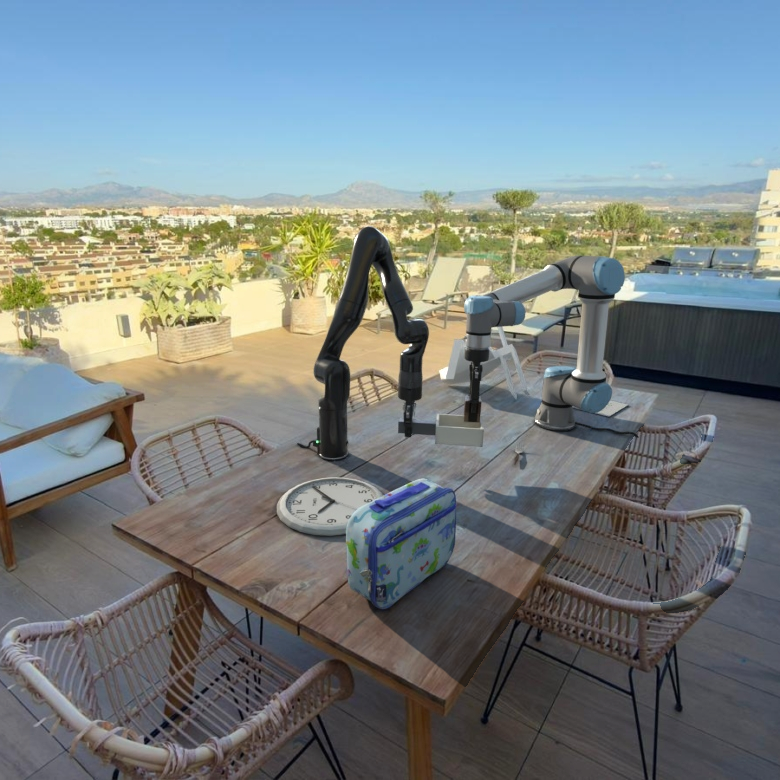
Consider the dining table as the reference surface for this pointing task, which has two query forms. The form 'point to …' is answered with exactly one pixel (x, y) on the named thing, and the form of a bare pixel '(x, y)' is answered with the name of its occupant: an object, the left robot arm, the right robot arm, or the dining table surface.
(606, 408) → the invitation card
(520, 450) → the fork
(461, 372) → the white plastic object
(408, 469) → the dining table surface
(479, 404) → the walnut block
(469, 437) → the bin
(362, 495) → the wall clock
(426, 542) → the lunch box
